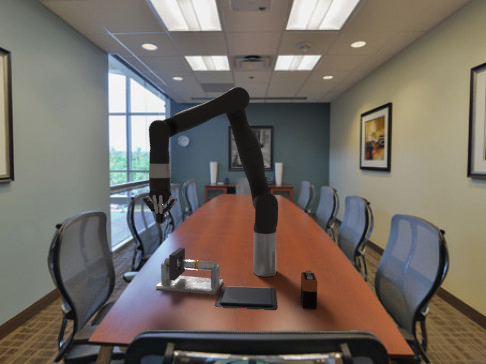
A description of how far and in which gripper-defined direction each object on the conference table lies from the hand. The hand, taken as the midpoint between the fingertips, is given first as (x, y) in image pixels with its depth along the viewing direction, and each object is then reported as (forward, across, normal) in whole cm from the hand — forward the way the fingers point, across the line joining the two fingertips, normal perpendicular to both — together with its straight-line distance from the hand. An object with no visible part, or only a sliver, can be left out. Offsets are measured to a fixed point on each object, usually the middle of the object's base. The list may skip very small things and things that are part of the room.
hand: (160, 223), depth 102 cm
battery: (+23, -54, +4) cm, 58 cm away
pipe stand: (+23, -12, 0) cm, 25 cm away
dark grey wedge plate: (+19, -7, 0) cm, 20 cm away
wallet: (+24, -34, +4) cm, 41 cm away
